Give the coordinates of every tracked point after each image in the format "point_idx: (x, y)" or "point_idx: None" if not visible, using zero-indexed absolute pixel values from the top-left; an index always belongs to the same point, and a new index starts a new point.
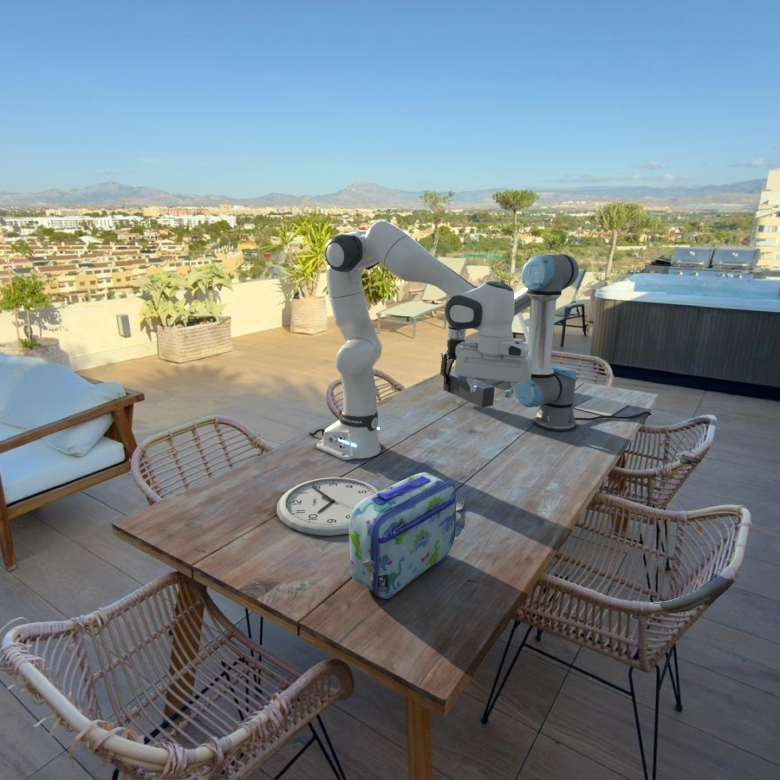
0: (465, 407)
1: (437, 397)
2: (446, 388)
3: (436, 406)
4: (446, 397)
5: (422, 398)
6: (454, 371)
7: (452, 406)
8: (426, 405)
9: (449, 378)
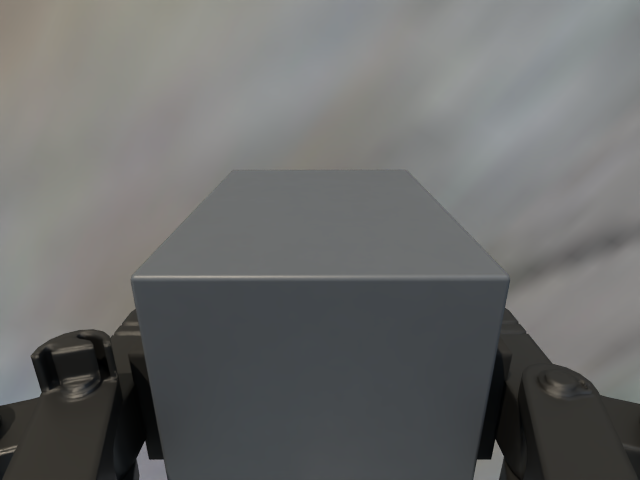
0: None
1: (235, 70)
2: None
3: (93, 289)
4: (324, 120)
5: (55, 15)
6: (472, 313)
7: None
8: (14, 229)
9: None
